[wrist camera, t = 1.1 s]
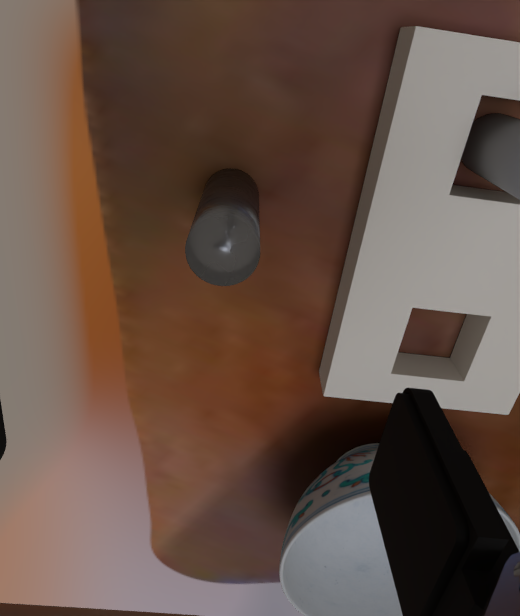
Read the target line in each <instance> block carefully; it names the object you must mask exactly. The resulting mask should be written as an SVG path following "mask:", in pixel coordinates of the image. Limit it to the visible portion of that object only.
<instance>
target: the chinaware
mask: <svg viewBox="0 0 520 616" xmlns="http://www.w3.org/2000/svg"><path fill="white" fill-rule="evenodd" d="M378 446H379V443H372V444H366V445H362V446H359V447H356V448H354V449H352V450H350V451H348V452H346V453H345V454H344V455H342V456H341V457H340V458H339V459H338V460H337V461H336V462H335V463H334V464H332V465H331V466H329V467H328V468H327V469H326V470H324V471H323V472H322V473H321V474H320V475H319V476H318V477H317V478H316V479H315V480H314V481H313V482H312V483H311V484H310V485H309V486H308V488H307V489H306V490H305V492H304V493H303V495H302V496H301V498H300V500H299V501H298V503H297V505H296V507H295V509H294V511H293V513H292V516H291V518H290V521H289V524H288V527H287V530H286V534H285V538H284V542H283V546H282V552H281V559H280V569H279V574H280V582H281V586H282V589H283V591H284V593H285V595H286V597H287V599H288V600H289V601H290V603H291V604H292V605H293V606H294V607H295V608H296V609H297V610H298V611H299V612H300V613H301V614H303V615H304V616H403V615H402V611H401V607H400V603H399V599H398V595H397V592H396V588H395V584H394V580H393V576H392V573H391V569H390V565H389V561H388V557H387V553H386V550H385V546H384V542H383V538H382V534H381V530H380V527H379V523H378V519H377V515H376V511H375V507H374V504H373V500H372V496H371V492H370V488H369V474H370V470H371V467H372V464H373V461H374V458H375V455H376V452H377V449H378ZM488 493H489V492H488ZM490 496H491V495H490ZM491 498H492V500H493V502H494V504H495V506H496V508H497V510H498V512H499V513H500V515H501V517H502V519H503V521H504V523H505V525H506V527H507V529H508V531H509V533H510V534H511V536H512V538H513V540H514V542H515V544H516V546H517V548H518V550H519V552H520V533H519V531H518V529H517V527H516V525H515V524H514V522H513V521H512V519H511V518H510V517H509V515H508V514H507V513H506V512H505V510H504V509H503V508H502V507H501V505H500V504H499V503H498V502H497V501H496V500H495V499H494V498H493V497H492V496H491Z"/></svg>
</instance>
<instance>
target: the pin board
mask: <svg viewBox="0 0 520 616" xmlns="http://www.w3.org/2000/svg"><path fill="white" fill-rule="evenodd" d="M482 95H486V96H493V97H499V98H506V99H513V100H519V101H520V43H519V42H513V41H507V40H500V39H494V38H488V37H482V36H475V35H469V34H463V33H456V32H450V31H444V30H438V29H431V28H425V27H419V26H411V27H401V28H400V32H399V36H398V41H397V45H396V49H395V53H394V57H393V62H392V66H391V70H390V74H389V78H388V83H387V87H386V91H385V95H384V100H383V104H382V108H381V112H380V116H379V121H378V125H377V129H376V133H375V137H374V142H373V146H372V150H371V154H370V159H369V163H368V167H367V171H366V175H365V180H364V184H363V188H362V192H361V196H360V201H359V205H358V209H357V213H356V218H355V222H354V226H353V230H352V234H351V239H350V243H349V247H348V251H347V255H346V260H345V264H344V268H343V272H342V277H341V281H340V285H339V289H338V293H337V298H336V302H335V306H334V310H333V314H332V319H331V323H330V327H329V331H328V336H327V340H326V344H325V348H324V352H323V357H322V361H321V365H320V369H319V375H320V381H321V386H322V391H323V396H327V397H337V398H347V399H357V400H366V401H376V402H386V403H393V401H394V398H395V396H396V394H397V393H403V391H404V390H405V388H417V389H426V390H431V391H432V392H433V393H434V395H435V397H436V399H437V401H438V403H439V405H440V407H441V408H445V409H455V410H465V411H475V412H485V413H494V414H504V415H509V413H510V411H511V409H512V407H513V405H514V403H515V401H516V399H517V397H518V395H519V393H520V119H517V118H514V117H510V116H507V115H504V114H499V113H492V114H488V115H485V116H482V117H480V118H479V119H477V120H476V121H474V122H473V120H474V117H475V114H476V111H477V108H478V105H479V102H480V99H481V96H482ZM461 159H462V162H463V163H464V165H465V166H466V167H467V168H468V169H470V170H471V171H473V172H475V173H476V174H478V175H480V176H481V177H483V178H484V179H486V180H488V181H489V182H491V183H493V184H494V185H496V186H498V187H499V188H501V189H503V190H504V191H506V192H502V191H495V190H487V189H480V188H472V187H465V186H458V185H453V182H454V179H455V175H456V172H457V169H458V166H459V163H460V160H461ZM412 308H421V309H430V310H438V311H447V312H455V313H464V314H467V315H466V318H465V320H464V323H463V326H462V328H461V331H460V333H459V336H458V338H457V341H456V343H455V346H454V349H453V351H452V354H451V356H450V358H445V357H436V356H427V355H418V354H409V353H399V352H398V350H399V347H400V344H401V341H402V338H403V335H404V332H405V329H406V326H407V323H408V320H409V317H410V313H411V310H412Z"/></svg>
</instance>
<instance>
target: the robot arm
mask: <svg viewBox="0 0 520 616" xmlns="http://www.w3.org/2000/svg"><path fill="white" fill-rule="evenodd" d="M5 448H6V434H5V428H4V422H3V414H2V408H1V402H0V459H1V458H2V456H3V454H4V451H5ZM369 488H370V492H371V496H372V500H373V504H374V507H375V511H376V515H377V519H378V523H379V527H380V530H381V534H382V538H383V542H384V546H385V550H386V553H387V557H388V561H389V565H390V569H391V573H392V576H393V580H394V584H395V588H396V592H397V595H398V599H399V603H400V607H401V611H402V615H403V616H520V552H519V550H518V548H517V546H516V544H515V542H514V540H513V538H512V536H511V534H510V533H509V531H508V529H507V527H506V525H505V523H504V521H503V519H502V517H501V515H500V513H499V512H498V510H497V508H496V506H495V504H494V502H493V500H492V498H491V496H490V494H489V493H488V491H487V489H486V487H485V485H484V483H483V481H482V479H481V477H480V475H479V474H478V472H477V470H476V468H475V466H474V464H473V462H472V460H471V458H470V456H469V455H468V454H467V452H466V451H465V450H463V449H462V448H461V446H460V444H459V442H458V440H457V438H456V436H455V434H454V432H453V430H452V428H451V426H450V424H449V422H448V420H447V419H446V417H445V415H444V413H443V411H442V409H441V407H440V405H439V403H438V401H437V399H436V397H435V395H434V393H433V392H432V391H431V390H426V389H417V388H405V390H404V391H403V393H397V394H396V396H395V398H394V401H393V404H392V407H391V410H390V413H389V416H388V419H387V422H386V425H385V428H384V431H383V434H382V437H381V440H380V443H379V446H378V449H377V452H376V455H375V458H374V461H373V464H372V467H371V470H370V474H369ZM0 616H197V615H182V614H167V613H152V612H137V611H121V610H106V609H91V608H90V609H89V608H75V607H57V606H41V605H25V604H8V603H0Z"/></svg>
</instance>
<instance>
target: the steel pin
mask: <svg viewBox="0 0 520 616" xmlns="http://www.w3.org/2000/svg"><path fill="white" fill-rule="evenodd" d="M185 253H186V258H187V262H188V264H189V266H190V268H191V269H192V271H193V272H194V273H195V274H196V275H197V276H198V277H199V278H201V279H202V280H204V281H206V282H208V283H210V284H214V285H219V286H229V285H234V284H237V283H240V282H242V281H244V280H245V279H247V278H248V277H249V276H250V275H251V274H252V273H253V272H254V270H255V269H256V267H257V265H258V262H259V258H260V226H259V192H258V188H257V185H256V183H255V182H254V180H253V179H252V178H251V177H250V176H249V175H248V174H247V173H245V172H243V171H241V170H238V169H231V168H230V169H223V170H220V171H218V172H216V173H215V174H213V175H212V176H211V177H210V179H209V180H208V182H207V183H206V186H205V188H204V191H203V194H202V197H201V200H200V203H199V206H198V209H197V212H196V215H195V218H194V221H193V224H192V226H191V229H190V232H189V235H188V238H187V241H186V247H185Z"/></svg>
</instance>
